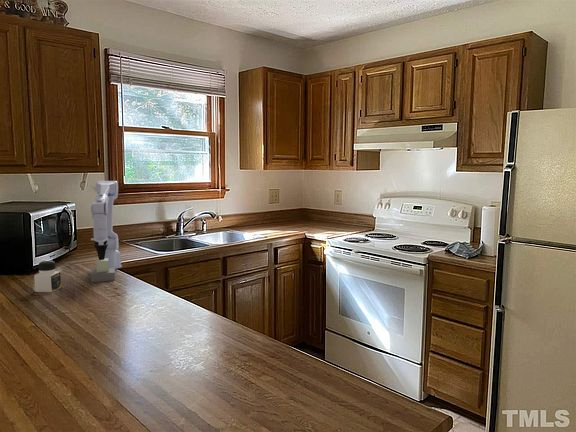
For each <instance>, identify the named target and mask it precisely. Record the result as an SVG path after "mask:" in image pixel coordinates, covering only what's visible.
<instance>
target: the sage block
mask: <svg viewBox="0 0 576 432" xmlns="http://www.w3.org/2000/svg"><path fill="white" fill-rule="evenodd" d="M95 260H96V269H97V272H107V271H109V263H108V258H105V259H104V260H99V258H96V259H95Z"/></svg>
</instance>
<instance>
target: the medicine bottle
mask: <svg viewBox="0 0 576 432" xmlns="http://www.w3.org/2000/svg"><path fill="white" fill-rule="evenodd" d="M33 278H34V279H33V280H34V292H36V293H53V292H55V291H57V290H59V289H61V287H62V282H61V281H62V280H61V278H62V277H61V271H59V270H56V262H55V261H53V260H43V261H40V262H39V263H38V273H36V274H34V277H33Z"/></svg>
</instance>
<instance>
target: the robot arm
mask: <svg viewBox="0 0 576 432" xmlns="http://www.w3.org/2000/svg"><path fill="white" fill-rule="evenodd" d="M95 192H96V196H95V199H94V202H93V203H91V204H90V213H91V218H92V225H93V226H92V228H93V237H92V238H90V241H94V242H93V243H94V245H93V246H94V248H95V250H96V253H97V257H98V258H97V259H99V260H104V259H105V258H108V263H109V268H113V267H115V270H116V269H120V268H122V267H123V265H122V262H121V261H122V260H121V259H122V257H121V252H120V251H119V245H120V243H119V236H118V233H115V232H114V231H113V230H114V229H113V227H114V226H113V223H114V222H113V219H114V201H115V200H116V199H118V196H119V183H118V181H117V180H97V181H95Z"/></svg>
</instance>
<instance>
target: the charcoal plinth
mask: <svg viewBox="0 0 576 432" xmlns="http://www.w3.org/2000/svg"><path fill="white" fill-rule="evenodd" d="M89 275H90V283H95V282H108V281H115V280H116V269H115V267H113V268H109V271H107V272H97V268H91V271H90V274H89Z"/></svg>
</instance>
